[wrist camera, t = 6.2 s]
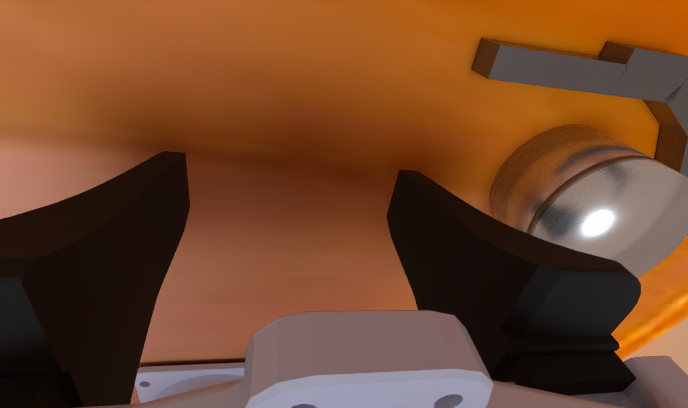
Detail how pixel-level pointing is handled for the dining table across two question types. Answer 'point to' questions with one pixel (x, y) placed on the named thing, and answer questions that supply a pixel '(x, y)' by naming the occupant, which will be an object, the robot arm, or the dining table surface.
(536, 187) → the cylinder
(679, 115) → the u-shaped bracket
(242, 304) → the dining table surface
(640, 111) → the dining table surface
